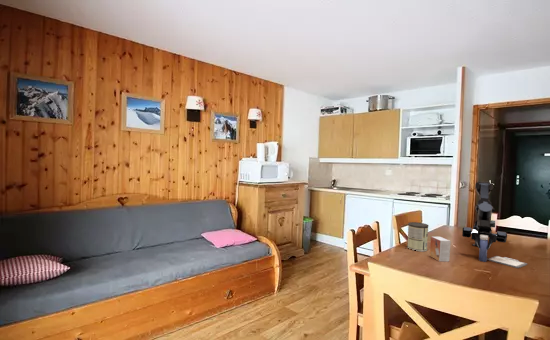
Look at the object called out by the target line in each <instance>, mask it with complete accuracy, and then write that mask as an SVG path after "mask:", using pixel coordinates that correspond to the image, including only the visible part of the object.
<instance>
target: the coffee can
mask: <svg viewBox="0 0 550 340" xmlns="http://www.w3.org/2000/svg"><path fill="white" fill-rule="evenodd" d="M407 225H408V226H407V228H408V229H407V246H406V248H407V249H408V248H409V249H408V250H410V249H412V250H411V251H414V250H416V251H415V252H427V251H428V241H429V240H428V239H429V237H428V235H429V227H430V226H429V224H428V223H424V222H417V221H416V222H415V221H414V222H413V221H412V222H411V221H410V222H408V223H407Z"/></svg>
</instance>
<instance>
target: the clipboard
mask: <svg viewBox="0 0 550 340" xmlns="http://www.w3.org/2000/svg"><path fill="white" fill-rule="evenodd" d="M487 261H489V262H493V263H496V264H501V265H505V266H508V267H512V268H516V269H521V268H522V267H525V266H527V265H528V263H527V262H522V261H519V259H514V258H511V257H510V258H509V257H506V256H504V257H502V256H499V255H495V256H492V257H489V258H488V257H487Z"/></svg>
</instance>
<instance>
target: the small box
mask: <svg viewBox="0 0 550 340" xmlns="http://www.w3.org/2000/svg"><path fill="white" fill-rule="evenodd" d="M429 244H430V246H429V257H431V258H433V259H435V260H436V261H438V262H450V256H451V244H452V242H451V240H450V239H447V238H444V237H442V236H430V243H429Z"/></svg>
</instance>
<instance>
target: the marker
mask: <svg viewBox="0 0 550 340" xmlns="http://www.w3.org/2000/svg"><path fill="white" fill-rule="evenodd" d="M488 241H489V237H488V235H482V234H481V235H480V248H479V253H478V261H479V262H483V263H487V261H488V260H487V259H488V250H487V246H488Z"/></svg>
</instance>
